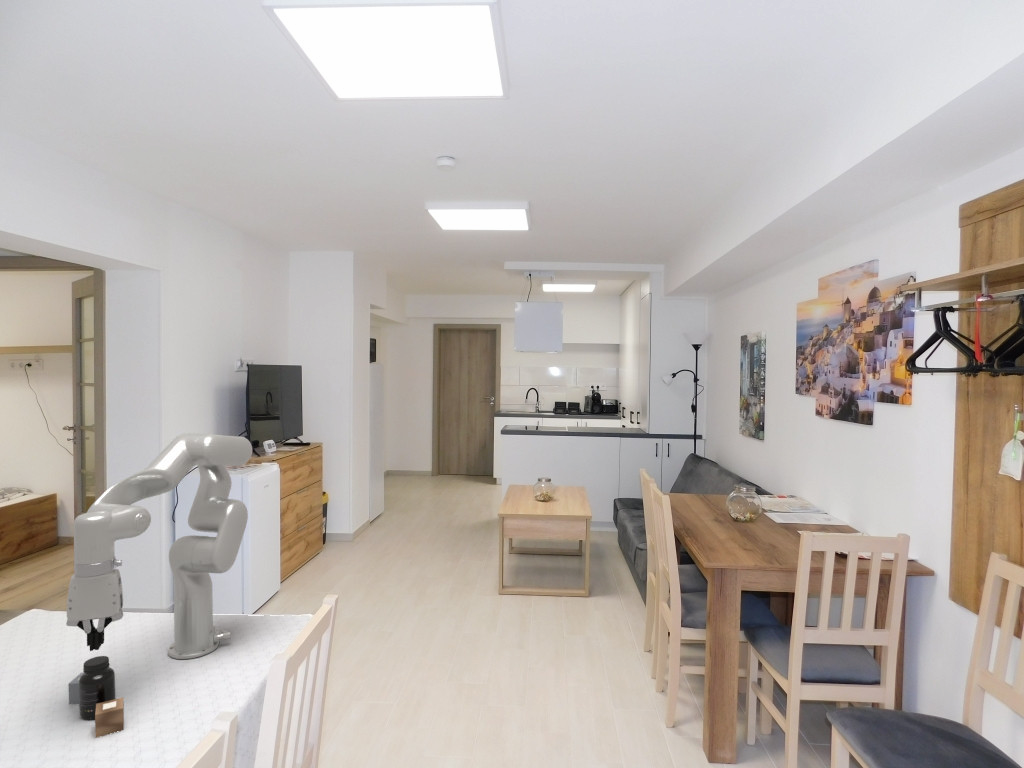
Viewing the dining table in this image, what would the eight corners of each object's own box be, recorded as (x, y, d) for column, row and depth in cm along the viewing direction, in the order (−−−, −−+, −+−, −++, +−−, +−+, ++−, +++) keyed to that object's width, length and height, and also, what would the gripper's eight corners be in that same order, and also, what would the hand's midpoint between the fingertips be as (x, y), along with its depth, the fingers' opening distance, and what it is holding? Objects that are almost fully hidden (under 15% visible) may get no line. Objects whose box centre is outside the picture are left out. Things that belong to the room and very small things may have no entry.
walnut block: (123, 719, 135) (123, 696, 135) (123, 730, 131) (123, 707, 131) (96, 726, 133) (96, 703, 133) (95, 738, 128) (95, 714, 128)
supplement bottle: (91, 704, 141) (90, 653, 141) (121, 703, 142) (121, 652, 141) (72, 721, 134) (71, 668, 134) (104, 720, 135) (103, 667, 134)
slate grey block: (103, 691, 147) (103, 670, 146) (91, 703, 142) (91, 681, 141) (81, 693, 146) (80, 672, 146) (68, 704, 141) (68, 683, 141)
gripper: (136, 559, 143) (137, 635, 143) (60, 566, 137) (61, 646, 138) (129, 569, 136) (130, 649, 136) (49, 577, 130) (50, 661, 131)
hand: (95, 647), depth 137 cm, fingers closed
